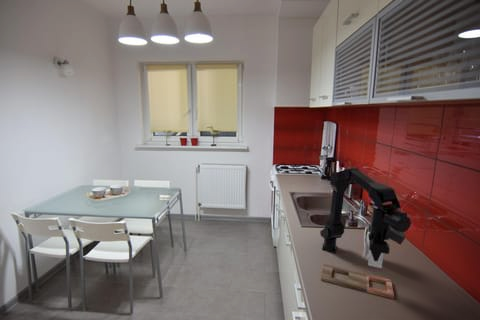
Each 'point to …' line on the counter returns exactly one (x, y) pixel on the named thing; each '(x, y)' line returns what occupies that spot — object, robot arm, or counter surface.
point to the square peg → (375, 263)
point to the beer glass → (366, 243)
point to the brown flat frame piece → (357, 281)
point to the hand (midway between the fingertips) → (375, 257)
